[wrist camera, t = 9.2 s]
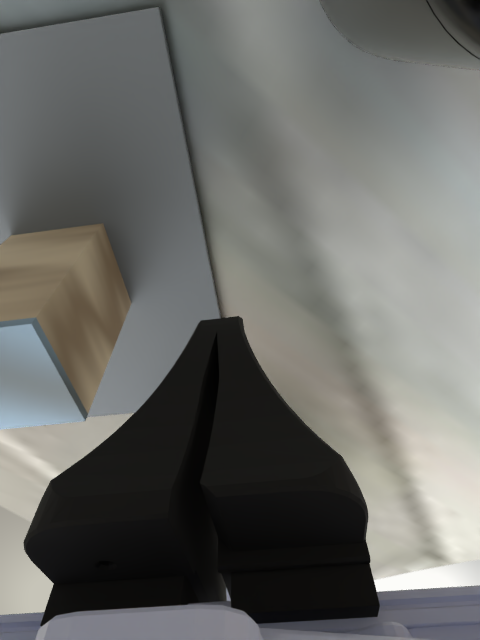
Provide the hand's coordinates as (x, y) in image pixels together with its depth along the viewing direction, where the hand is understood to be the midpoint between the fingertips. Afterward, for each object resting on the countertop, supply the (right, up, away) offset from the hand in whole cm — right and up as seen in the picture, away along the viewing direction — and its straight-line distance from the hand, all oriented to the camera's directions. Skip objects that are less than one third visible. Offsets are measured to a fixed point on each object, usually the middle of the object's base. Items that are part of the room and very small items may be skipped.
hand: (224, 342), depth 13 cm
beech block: (-7, +3, +5) cm, 9 cm away
